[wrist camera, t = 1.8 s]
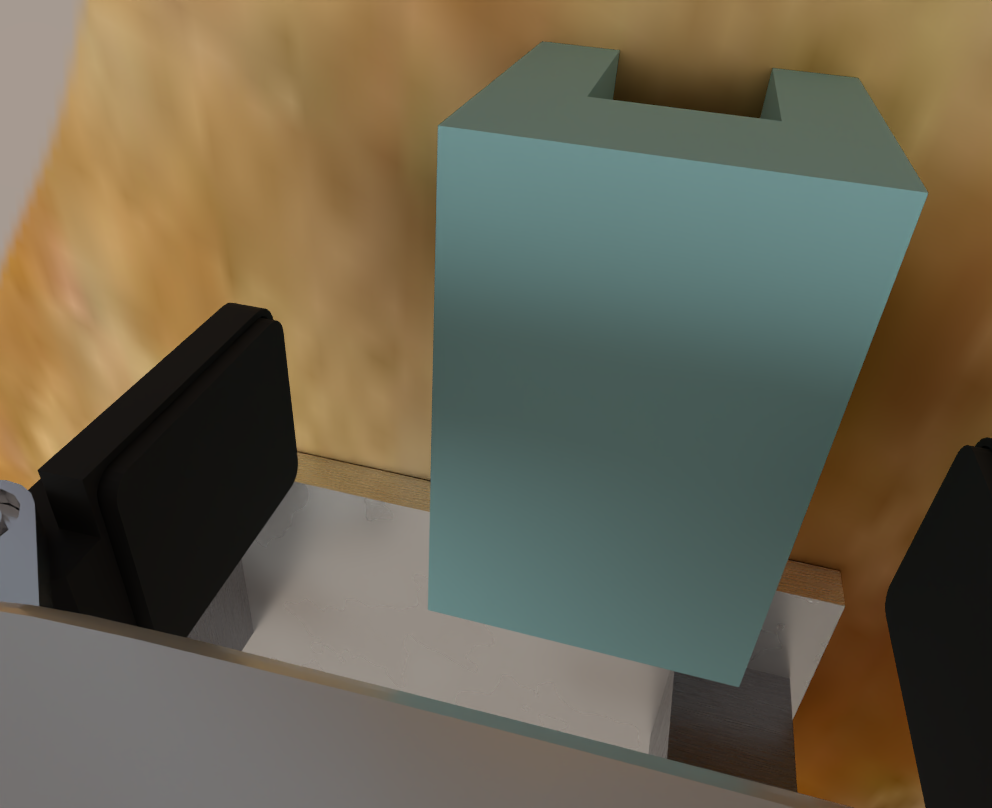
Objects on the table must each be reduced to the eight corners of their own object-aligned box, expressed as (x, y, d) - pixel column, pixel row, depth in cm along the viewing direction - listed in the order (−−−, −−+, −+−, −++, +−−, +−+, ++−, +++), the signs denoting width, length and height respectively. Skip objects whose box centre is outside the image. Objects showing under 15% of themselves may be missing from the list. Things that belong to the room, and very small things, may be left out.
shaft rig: (744, 787, 26) (746, 1051, 20) (192, 637, 29) (55, 826, 23) (839, 571, 20) (881, 853, 14) (140, 417, 23) (-57, 594, 18)
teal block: (858, 77, 14) (928, 192, 9) (739, 467, 19) (738, 687, 14) (542, 41, 15) (437, 125, 10) (508, 420, 20) (427, 609, 15)
